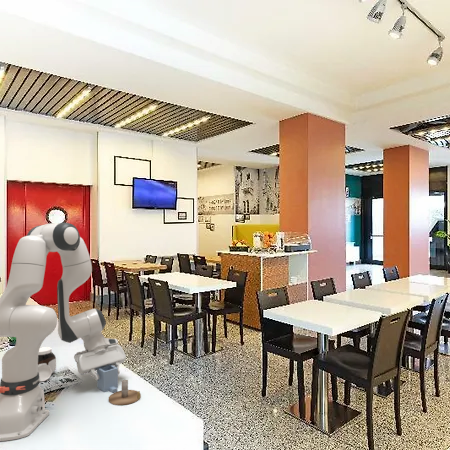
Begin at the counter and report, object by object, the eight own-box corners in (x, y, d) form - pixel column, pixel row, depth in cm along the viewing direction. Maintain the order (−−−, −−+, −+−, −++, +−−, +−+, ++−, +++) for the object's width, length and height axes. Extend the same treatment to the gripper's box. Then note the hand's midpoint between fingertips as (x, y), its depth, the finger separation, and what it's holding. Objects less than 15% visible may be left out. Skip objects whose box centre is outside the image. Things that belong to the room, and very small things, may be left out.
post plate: (102, 398, 148) (102, 381, 148) (130, 388, 156) (130, 372, 156) (118, 408, 139) (118, 390, 139) (146, 397, 148) (146, 380, 148)
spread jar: (48, 370, 177) (48, 344, 177) (64, 374, 171) (63, 348, 171) (23, 379, 166) (22, 352, 166) (39, 384, 161) (38, 356, 160)
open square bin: (97, 387, 157) (97, 368, 157) (110, 383, 161) (110, 364, 161) (108, 394, 151) (107, 374, 151) (121, 389, 155) (121, 370, 155)
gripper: (75, 349, 154) (86, 380, 148) (120, 338, 169) (132, 366, 162) (70, 357, 158) (81, 388, 151) (115, 346, 172) (127, 373, 165)
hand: (108, 376), depth 157 cm, fingers open, 7 cm apart
